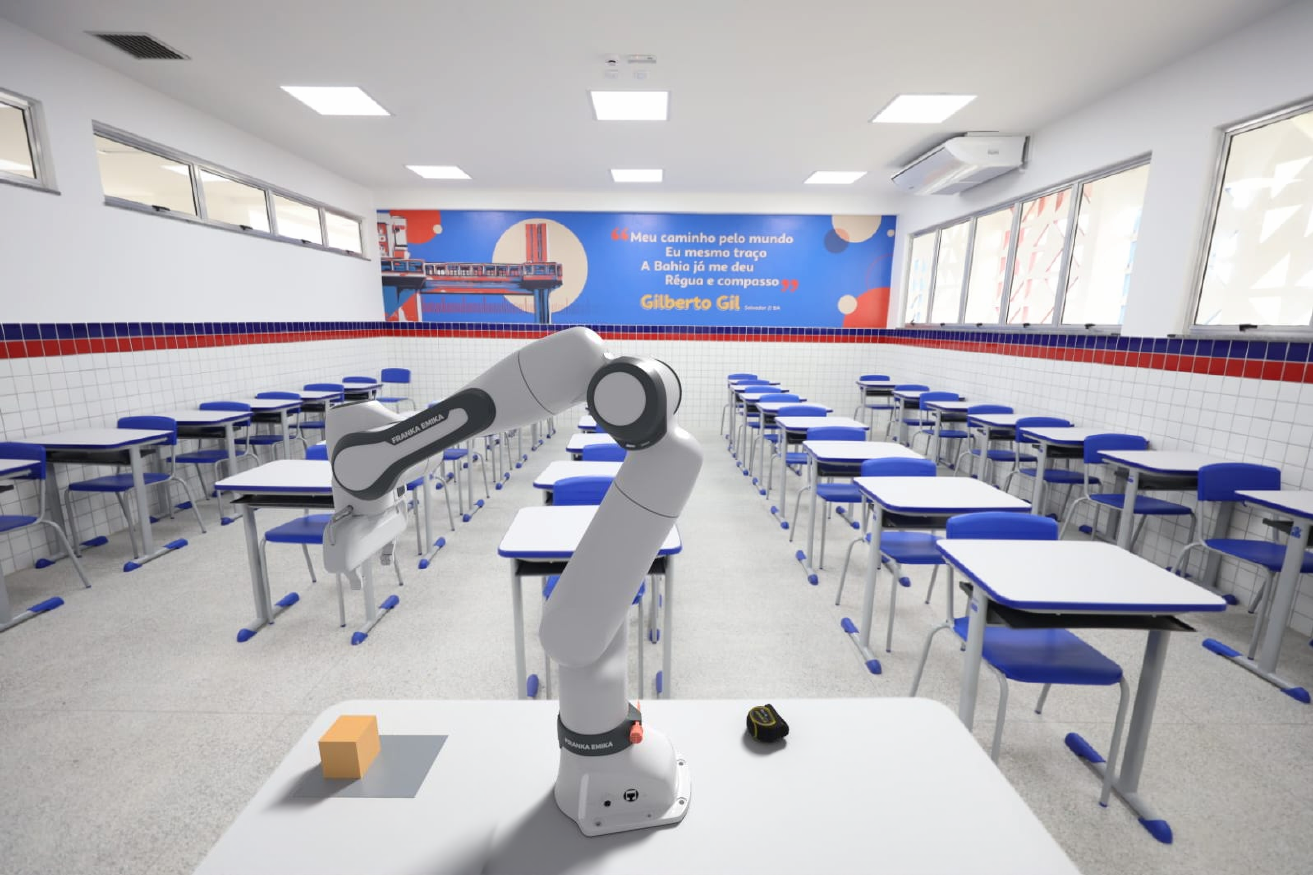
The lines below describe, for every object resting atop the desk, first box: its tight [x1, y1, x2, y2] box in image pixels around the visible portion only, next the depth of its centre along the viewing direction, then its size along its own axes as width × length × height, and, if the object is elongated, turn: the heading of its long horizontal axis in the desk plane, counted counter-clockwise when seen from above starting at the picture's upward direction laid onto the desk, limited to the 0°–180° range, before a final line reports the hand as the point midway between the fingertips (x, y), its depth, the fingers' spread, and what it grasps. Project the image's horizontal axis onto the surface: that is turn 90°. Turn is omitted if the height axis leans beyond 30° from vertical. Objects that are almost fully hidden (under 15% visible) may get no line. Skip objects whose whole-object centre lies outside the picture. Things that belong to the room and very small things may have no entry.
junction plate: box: [292, 734, 449, 799], centre depth 97 cm, size 20×14×6 cm
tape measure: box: [745, 703, 790, 743], centre depth 105 cm, size 7×7×4 cm
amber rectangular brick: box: [317, 714, 381, 778], centre depth 97 cm, size 6×6×7 cm
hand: (374, 575), depth 96 cm, fingers open, 8 cm apart
